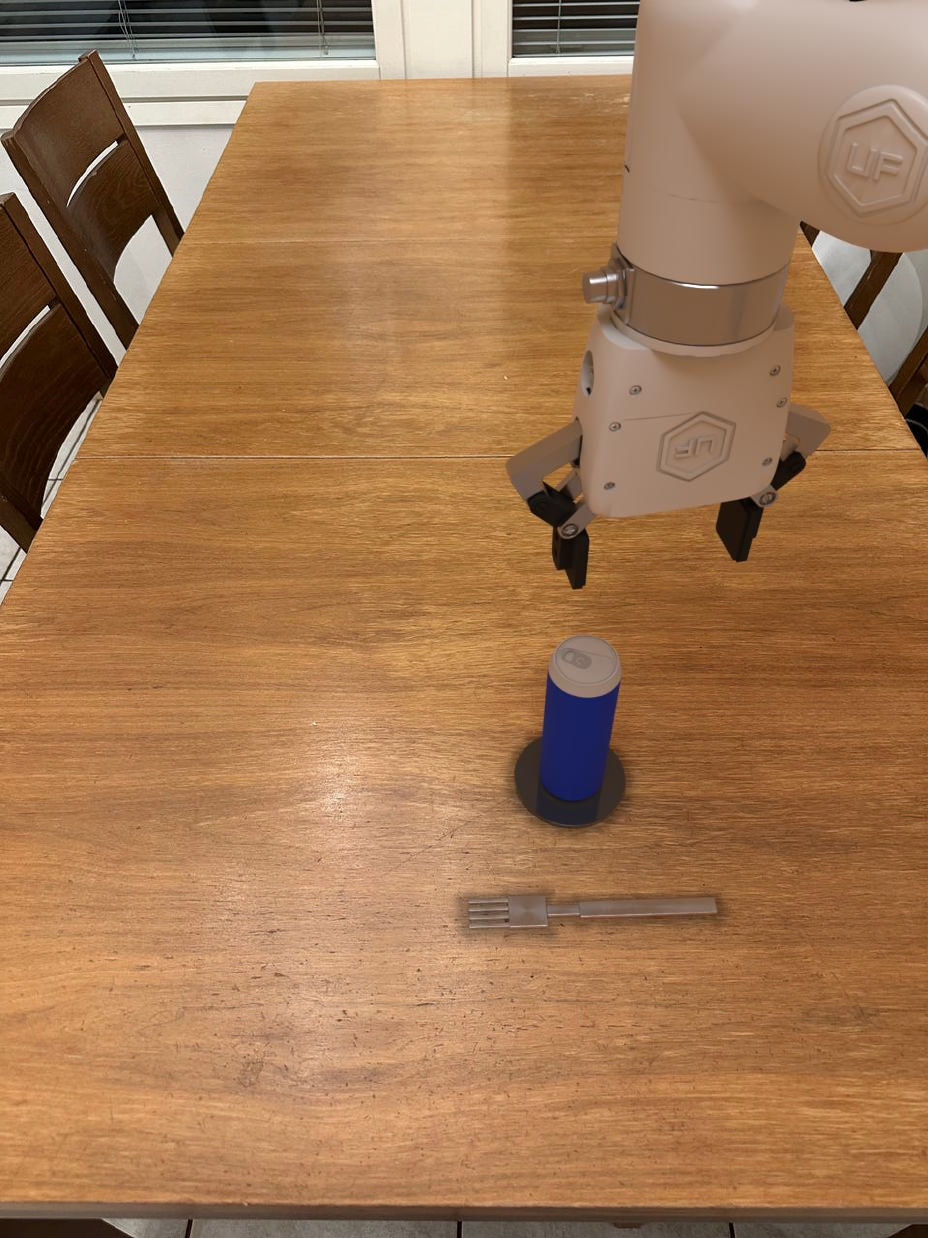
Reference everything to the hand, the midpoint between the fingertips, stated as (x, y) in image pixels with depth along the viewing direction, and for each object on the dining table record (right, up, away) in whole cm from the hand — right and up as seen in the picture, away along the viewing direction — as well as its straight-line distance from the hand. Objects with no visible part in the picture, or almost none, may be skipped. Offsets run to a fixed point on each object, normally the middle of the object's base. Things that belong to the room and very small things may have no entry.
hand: (651, 559), depth 55 cm
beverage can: (-2, -16, +22) cm, 27 cm away
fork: (-1, -25, +14) cm, 29 cm away
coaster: (-2, -17, +22) cm, 27 cm away
